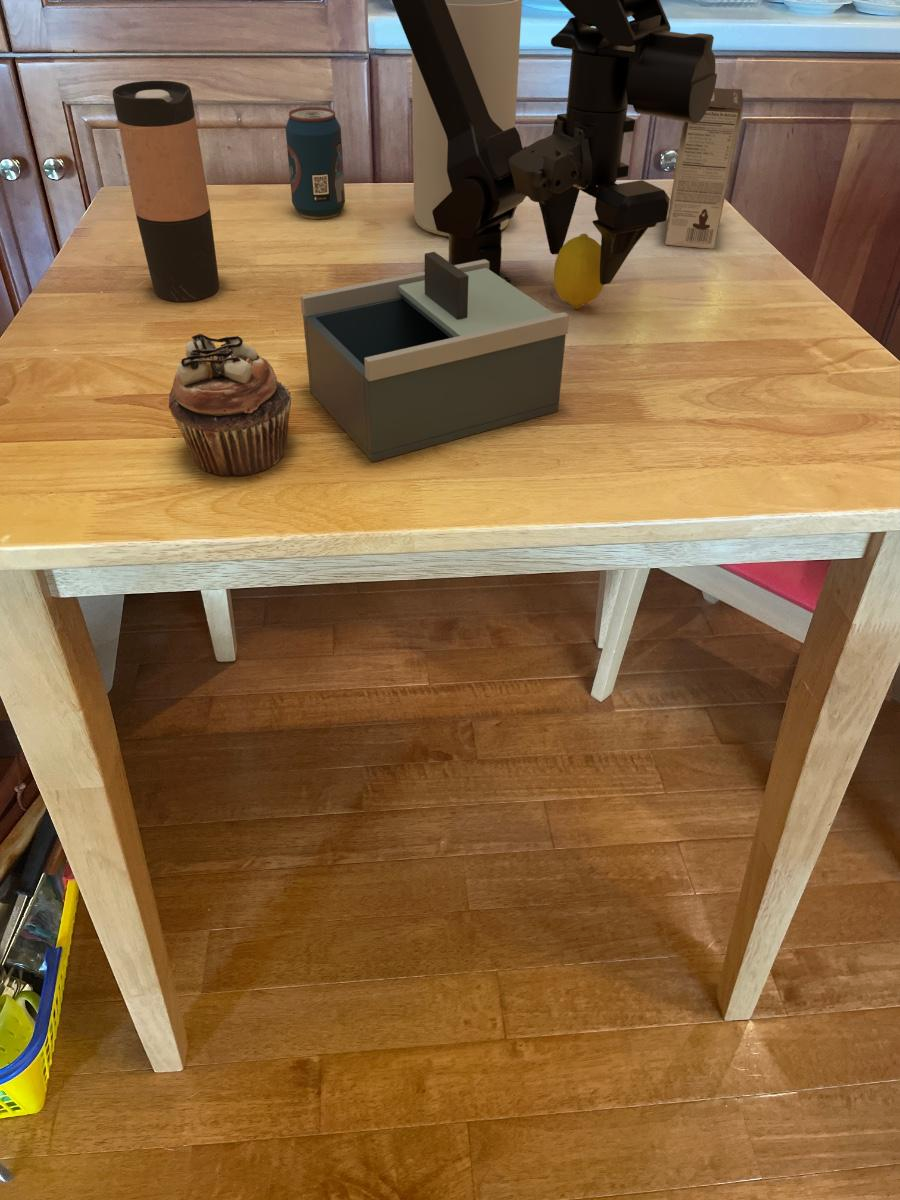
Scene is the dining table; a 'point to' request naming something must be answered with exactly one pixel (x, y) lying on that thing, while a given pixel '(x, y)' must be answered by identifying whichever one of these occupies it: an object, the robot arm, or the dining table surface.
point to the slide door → (469, 298)
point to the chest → (424, 368)
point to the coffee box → (704, 172)
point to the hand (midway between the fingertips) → (579, 268)
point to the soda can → (315, 162)
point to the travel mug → (168, 187)
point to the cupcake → (230, 407)
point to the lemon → (578, 271)
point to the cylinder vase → (491, 43)
